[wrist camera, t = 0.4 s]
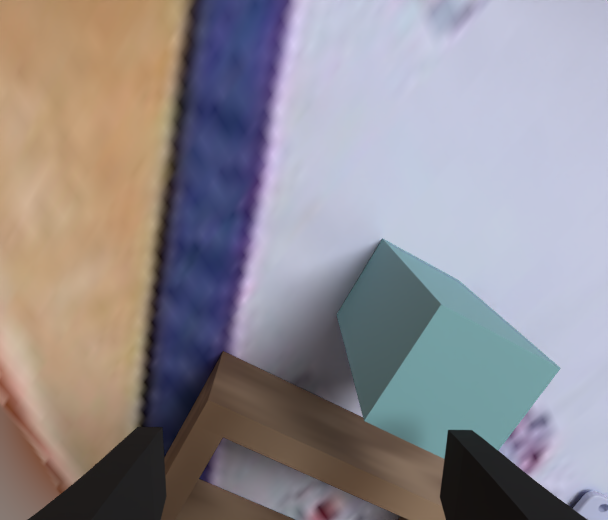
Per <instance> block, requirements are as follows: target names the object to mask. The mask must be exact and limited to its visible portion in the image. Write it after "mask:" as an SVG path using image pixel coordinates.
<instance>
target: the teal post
mask: <svg viewBox="0 0 608 520" xmlns="http://www.w3.org/2000/svg"><path fill="white" fill-rule="evenodd" d="M337 318H338V322H339V326H340V330H341V334H342V337H343V341H344V345H345V349H346V353H347V357H348V361H349V364H350V368H351V372H352V376H353V380H354V384H355V388H356V391H357V395H358V399H359V403H360V407H361V411H362V415H363V418H364V421H365V422H367V423H370V424H372V425H374V426H376V427H378V428H380V429H382V430H384V431H386V432H388V433H391V434H393V435H395V436H397V437H399V438H401V439H403V440H405V441H407V442H410V443H412V444H414V445H416V446H418V447H420V448H422V449H424V450H426V451H429V452H431V453H433V454H435V455H437V456H439V457H441V458H443V459H445V450H446V442H447V434H448V430H473V431H474V432H475V433H477V434H478V435H479V436H481V437H482V438H483V439H484V440H486V441H487V442H488V443H489V444H490V445H492V446H493V447H494V448H495V449H497V450H499V449H500V448H501V446H502V445H503V444H504V442H505V441H506V440H507V438H508V437H509V436H510V434H511V433H512V432H513V430H514V429H515V428H516V426H517V425H518V424H519V423H520V421H521V420H522V419H523V417H524V416H525V415H526V413H527V412H528V411H529V409H530V408H531V407H532V405H533V404H534V403H535V401H536V400H537V399H538V397H539V396H540V395H541V393H542V392H543V391H544V389H545V388H546V387H547V386H548V384H549V383H550V382H551V380H552V379H553V378H554V376H555V375H556V374H557V372H558V371H559V370H560V367H559V366H557V365H556V364H555V363H554V362H553V361H552V360H551V359H549V358H548V357H547V356H546V355H545V354H544V353H542V352H541V351H540V350H539V349H538V348H537V347H535V346H534V345H533V344H532V343H531V342H530V341H528V340H527V339H526V338H525V337H524V336H523V335H522V334H520V333H519V332H518V331H517V330H516V329H515V328H513V327H512V326H511V325H510V324H509V323H508V322H506V321H505V320H504V319H503V318H502V317H501V316H499V315H498V314H497V313H496V312H495V311H494V310H493V309H491V308H490V307H489V306H488V305H487V304H486V303H484V302H483V301H482V300H481V299H480V298H479V297H477V296H476V295H475V294H474V293H473V292H472V291H470V290H469V289H468V288H467V287H466V286H465V285H464V284H462V283H461V282H460V281H459V280H457V279H455V278H454V277H452V276H450V275H448V274H446V273H444V272H443V271H441V270H439V269H437V268H435V267H433V266H432V265H430V264H428V263H426V262H424V261H423V260H421V259H419V258H417V257H415V256H413V255H412V254H410V253H408V252H406V251H404V250H403V249H401V248H399V247H397V246H395V245H393V244H392V243H390V242H388V241H386V240H384V239H382V240H381V242H380V244H379V245H378V247H377V249H376V250H375V252H374V254H373V255H372V257H371V259H370V260H369V262H368V263H367V265H366V267H365V268H364V270H363V272H362V273H361V275H360V277H359V278H358V280H357V282H356V283H355V285H354V287H353V288H352V290H351V292H350V293H349V295H348V297H347V298H346V300H345V301H344V303H343V305H342V306H341V308H340V310H339V311H338V313H337Z"/></svg>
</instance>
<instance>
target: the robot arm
mask: <svg viewBox="0 0 608 520" xmlns="http://www.w3.org/2000/svg"><path fill="white" fill-rule="evenodd" d="M166 496H167V495H166V479H165V462H164V446H163V429H162V427H137V428H136V429H135V430H134V431H133V432H132V433H131V434H129V435H128V436H127V437H126V438H125V439H124V440H123V441H122V442H120V443H119V444H118V445H117V446H116V447H115V448H114V449H113V450H112V451H111V452H109V453H108V454H107V455H106V456H105V457H104V458H103V459H102V460H100V461H99V462H98V463H97V464H96V465H95V466H94V467H93V468H91V469H90V470H89V471H88V472H87V473H86V474H84V475H83V476H82V477H81V478H80V479H79V480H78V481H76V482H75V483H74V484H73V485H71V486H70V487H69V488H68V489H66V490H65V491H64V492H63V493H61V494H60V495H59V496H58V497H56V498H55V499H54V500H53V501H51V502H50V503H49V504H48V505H46V506H45V507H44V508H43V509H41V510H40V511H39V512H38V513H36V514H35V515H34V516H32V517H31V518H29V519H28V520H161V516H162V512H163V508H164V504H165V500H166ZM440 500H441V504H442V507H443V511H444V514H445V518H446V520H608V497H607V496H605V495H603V494H601V493H599V492H596V491H589V492H587V493H586V494H584V495H583V497H582V498H581V499H580V500H579V501H578V503H577V504H576V505H575V506H574V507H573V509H572V508H571V507H569V506H568V505H567V504H565V503H564V502H562V501H561V500H560V499H558V498H557V497H556V496H554V495H553V494H552V493H550V492H549V491H548V490H546V489H545V488H544V487H542V486H541V485H540V484H539V483H537V482H536V481H535V480H533V479H532V478H531V477H530V476H528V475H527V474H526V473H525V472H523V471H522V470H521V469H520V468H518V467H517V466H516V465H515V464H514V463H512V462H511V461H510V460H509V459H507V458H506V457H505V456H504V455H503V454H501V453H500V452H499V451H498V450H497V449H495V448H494V447H493V446H492V445H490V444H489V443H488V442H487V441H486V440H484V439H483V438H482V437H481V436H479V435H478V434H477V433H475V432H474V431H473V430H448V434H447V442H446V450H445V459H444V467H443V475H442V483H441V491H440ZM601 504H602V505H601Z"/></svg>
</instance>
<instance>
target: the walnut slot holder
mask: <svg viewBox="0 0 608 520" xmlns="http://www.w3.org/2000/svg"><path fill="white" fill-rule="evenodd" d="M222 438H226V439H228V440H230V441H232V442H235V443H237V444H239V445H241V446H244V447H246V448H248V449H250V450H253V451H255V452H257V453H259V454H262V455H264V456H266V457H268V458H271V459H273V460H275V461H277V462H280V463H282V464H284V465H286V466H289V467H291V468H293V469H295V470H298V471H300V472H302V473H304V474H307V475H309V476H311V477H313V478H316V479H318V480H320V481H322V482H325V483H327V484H329V485H331V486H334V487H336V488H338V489H341V490H343V491H345V492H347V493H350V494H352V495H354V496H356V497H359V498H361V499H363V500H365V501H368V502H370V503H372V504H374V505H377V506H379V507H381V508H383V509H386V510H388V511H390V512H392V513H395V514H397V515H399V516H401V517H400V518H399V519H398V520H446V518H445V514H444V511H443V507H442V504H441V500H440V491H441V483H442V475H443V467H444V459H443V458H441V457H439V456H437V455H435V454H433V453H431V452H429V451H426V450H424V449H422V448H420V447H418V446H416V445H414V444H412V443H410V442H407V441H405V440H403V439H401V438H399V437H397V436H395V435H393V434H391V433H388V432H386V431H384V430H382V429H380V428H378V427H376V426H374V425H372V424H370V423H367V422H365V421H364V418H363V417H361V416H358V415H356V414H354V413H352V412H350V411H348V410H346V409H344V408H342V407H340V406H337V405H335V404H333V403H331V402H329V401H327V400H325V399H323V398H321V397H318V396H316V395H314V394H312V393H310V392H308V391H306V390H304V389H302V388H300V387H297V386H295V385H293V384H291V383H289V382H287V381H285V380H283V379H281V378H279V377H276V376H274V375H272V374H270V373H268V372H266V371H264V370H262V369H260V368H258V367H255V366H253V365H251V364H249V363H247V362H245V361H243V360H241V359H239V358H236V357H234V356H232V355H230V354H228V353H226V352H224V351H223V352H222V354H221V356H220V358H219V360H218V362H217V363H216V365H215V367H214V369H213V371H212V372H211V374H210V376H209V378H208V380H207V381H206V383H205V385H204V387H203V389H202V391H201V392H200V394H199V396H198V398H197V400H196V401H195V403H194V405H193V407H192V409H191V410H190V412H189V414H188V416H187V418H186V419H185V421H184V423H183V425H182V427H181V429H180V430H179V432H178V434H177V436H176V438H175V439H174V441H173V443H172V445H171V447H170V448H169V450H168V452H167V454H166V456H165V458H164V462H165V479H166V495H167V496H166V500H165V504H164V508H163V512H162V516H161V520H294V519H292V518H290V517H287V516H285V515H283V514H280V513H278V512H275V511H273V510H271V509H268V508H266V507H264V506H261V505H259V504H257V503H254V502H252V501H250V500H247V499H245V498H243V497H240V496H238V495H235V494H233V493H231V492H228V491H226V490H224V489H221V488H219V487H217V486H214V485H212V484H210V483H207V482H205V481H203V480H200V479H199V477H200V476H201V474H202V472H203V471H204V469H205V467H206V465H207V464H208V462H209V460H210V459H211V457H212V455H213V453H214V452H215V450H216V448H217V447H218V445H219V443H220V441H221V440H222Z"/></svg>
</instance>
